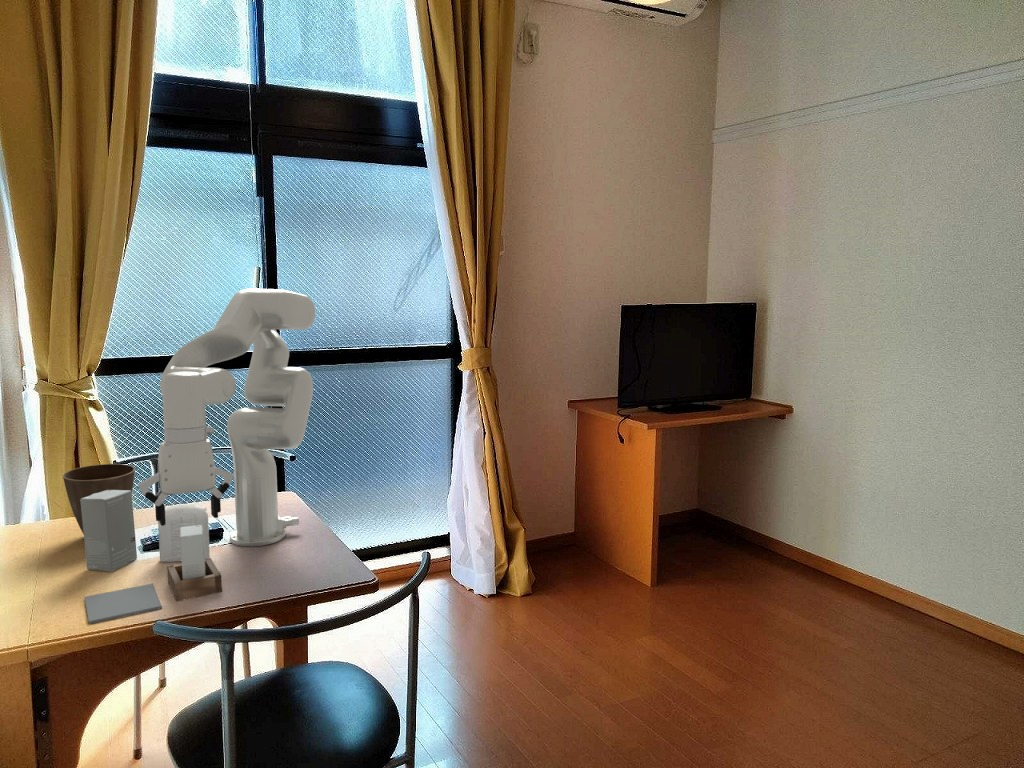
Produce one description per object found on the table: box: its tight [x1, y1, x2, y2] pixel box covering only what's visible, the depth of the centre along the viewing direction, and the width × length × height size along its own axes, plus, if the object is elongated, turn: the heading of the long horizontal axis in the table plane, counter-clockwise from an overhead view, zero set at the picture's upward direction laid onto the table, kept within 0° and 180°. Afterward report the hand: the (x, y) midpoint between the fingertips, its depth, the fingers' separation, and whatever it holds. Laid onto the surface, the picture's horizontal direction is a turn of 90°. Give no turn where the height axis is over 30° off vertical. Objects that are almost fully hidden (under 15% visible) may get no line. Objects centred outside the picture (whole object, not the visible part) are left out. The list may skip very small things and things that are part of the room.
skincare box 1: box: [80, 490, 138, 573], centre depth 159 cm, size 8×7×16 cm
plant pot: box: [62, 463, 136, 536], centre depth 176 cm, size 15×15×16 cm
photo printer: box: [157, 503, 211, 563], centre depth 163 cm, size 10×4×12 cm, turn 103°
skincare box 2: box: [180, 525, 206, 580], centre depth 148 cm, size 6×4×12 cm
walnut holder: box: [166, 557, 223, 602], centre depth 149 cm, size 8×10×4 cm
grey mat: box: [84, 583, 163, 625], centre depth 141 cm, size 12×12×1 cm
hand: (189, 520), depth 147 cm, fingers open, 9 cm apart
